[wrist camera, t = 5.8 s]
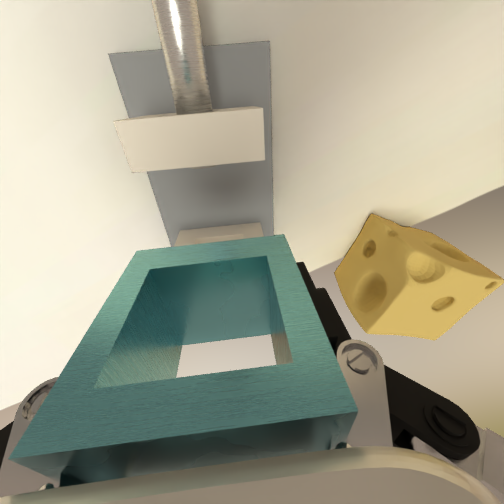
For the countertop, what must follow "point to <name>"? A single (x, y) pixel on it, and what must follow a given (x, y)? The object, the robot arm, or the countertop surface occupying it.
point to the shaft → (183, 55)
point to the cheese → (409, 281)
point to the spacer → (193, 387)
